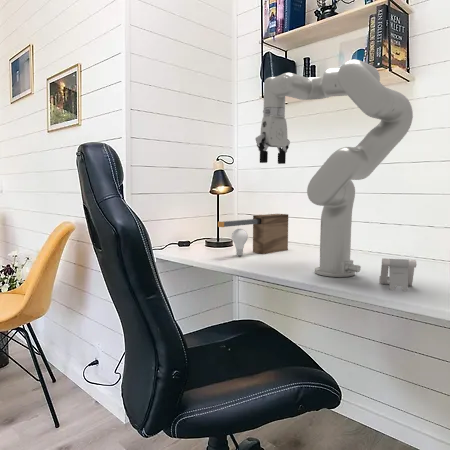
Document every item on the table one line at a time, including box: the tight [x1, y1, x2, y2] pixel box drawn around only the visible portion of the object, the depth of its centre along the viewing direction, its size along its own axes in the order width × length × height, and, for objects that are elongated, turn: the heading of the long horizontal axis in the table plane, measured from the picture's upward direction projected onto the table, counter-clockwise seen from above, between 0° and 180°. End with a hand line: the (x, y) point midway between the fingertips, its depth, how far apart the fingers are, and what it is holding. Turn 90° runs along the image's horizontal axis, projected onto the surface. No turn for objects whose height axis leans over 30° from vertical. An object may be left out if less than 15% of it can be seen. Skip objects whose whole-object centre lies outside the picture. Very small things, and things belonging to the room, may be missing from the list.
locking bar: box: [217, 218, 261, 228], centre depth 171 cm, size 3×25×2 cm, turn 134°
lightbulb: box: [231, 228, 249, 257], centre depth 170 cm, size 6×6×11 cm
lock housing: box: [252, 213, 289, 255], centre depth 183 cm, size 6×16×16 cm, turn 134°
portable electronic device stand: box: [379, 257, 417, 292], centre depth 120 cm, size 9×8×8 cm
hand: (272, 163), depth 153 cm, fingers open, 9 cm apart
